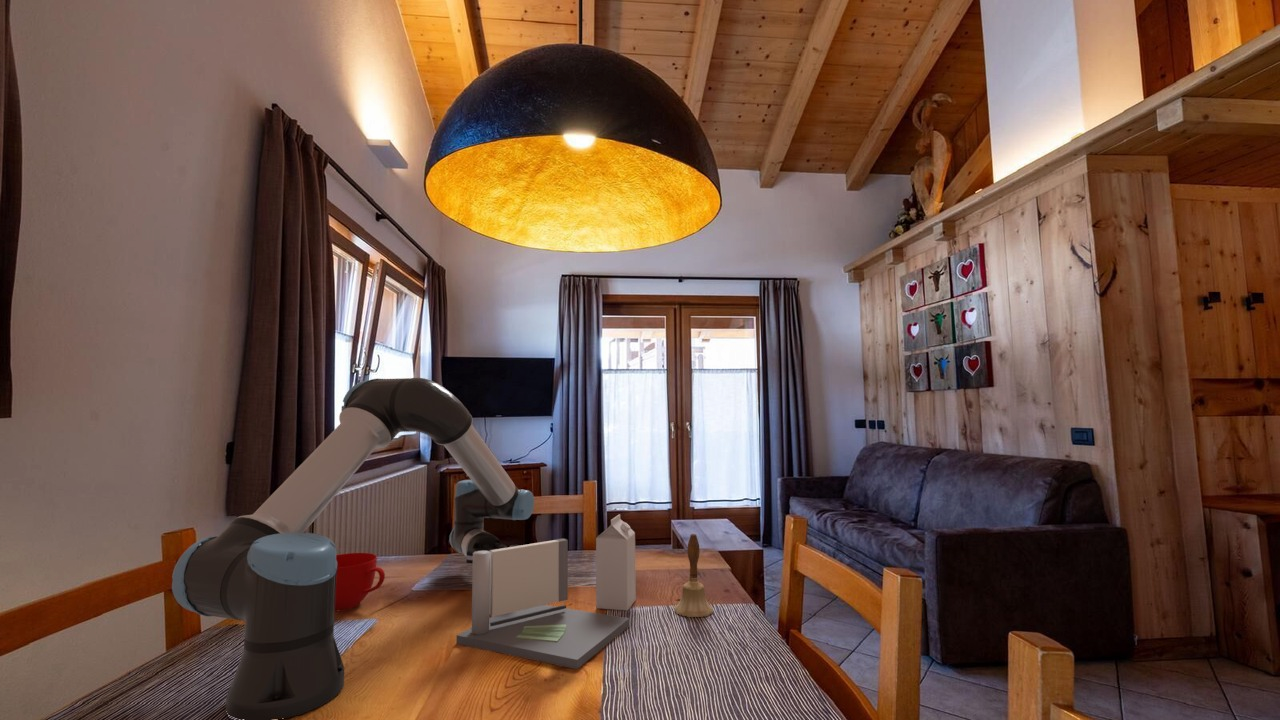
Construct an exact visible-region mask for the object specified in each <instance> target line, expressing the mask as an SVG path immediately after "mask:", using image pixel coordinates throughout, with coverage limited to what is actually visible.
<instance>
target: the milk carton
mask: <svg viewBox="0 0 1280 720" xmlns="http://www.w3.org/2000/svg"><path fill="white" fill-rule="evenodd" d="M595 566H596V568H595V569H596V570H595V576H596V577H595V587H596V590H595V593H596V595H595V597H596V598H595V600H596V603H595V606H596V609H602V610H615V611H629V610H630V609H631V607H632V606H633V604H634V603H635V602H636V600H637V599H636V598H637V597H636V532H635V531H634V530H633V529H632V528H631V526H630V525H629V524H628V523H627V522H625V521H623V520H622V519H621V514H620V513H619V514H618V515H616V516H615V517H613V518H612V519H610V525H609V526H608V527H607V528H606V529H605V530H603V532H601V533H600V534H599V535H597V537H596V538H595ZM628 609H629V610H628Z"/></svg>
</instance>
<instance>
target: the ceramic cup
mask: <svg viewBox="0 0 1280 720" xmlns="http://www.w3.org/2000/svg"><path fill="white" fill-rule="evenodd" d="M336 560H337V564H338V566H337V577H336V594H335V612H338V611H337V610H343V611H347V610H346V609H348V610H351V609H350V608H352V609H354V608H353V607H355V608H357V607H358V606H359V605H361V603H362V601H363V600H364V599H365V598H366V597H367V595H368V594H369V593H372V592H374V591H376V590H377V589H379V588H380V587H381V586H382V585H383V583H384V580H385V577H386V576H385V575H386V574H385V571H384V569H383V568H382V567H377V562H378V561H377V560H378V556H377V554H374V553H369V552H350V553H349V552H348V553H341V554H336ZM376 573H378V576H379V580H378V581H377V583H376V585H375V586H373V585H374V584H373V583H374V580H375V577H376V576H375V575H376ZM356 606H357V607H356Z"/></svg>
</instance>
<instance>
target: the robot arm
mask: <svg viewBox="0 0 1280 720" xmlns="http://www.w3.org/2000/svg"><path fill="white" fill-rule="evenodd" d="M342 402H343V405H341V412H340V413H339V416H338V417H339V419H338V420H339V423H340V424H338V426H337V427H335V429H334V430H333V431H332V432H331V433H330V434H329V435H328V436H327V437H326V438H325V439H324V440H323V441H322V442H321V443H320V444H319V445H318V446H317V448H316V449H314V451H313V452H312V453H310V455H308V457H306V458H305V460H304V461H303V462H302V463H301V464H300V465H299V466H298V467H297V468H296V469H295V470H294V471H293V472H292V473H291V474H290V475H289V476H288V477H287V478H286V479H285V480H284V481H283V483H282V484H281V485H280V486H279V487H278V488H276V490H275V491H274V492H273V493H272V494H271V495H270V496H269V497H268V498H267V499H266V500H265V501H264V502H263V503H262V504H261V506H259V507H258V508H257V509H256V511H254V512H253V513H252V514H246V515H240V516H238V517H236V518H235V519H234V520H233V521H232V522H231V523H229V525H228V526H227V527H226V528H224V530H223V531H222V532H221V533H220V534H219V535H214V536H209V537H206V538H202V539H200V540H197V541H196V542H194V543H193V544H191V545H190V546H189V547H188V548H187V549H186V550H184V552H183V553H182V554H181V556H180V557H179V559H178V560H177V562H176V564H175V566H174V568H173V571H172V576H171V577H172V583H171V590H172V594H173V596H174V599H175V600H176V602H177V603H178V604H179V605H180V607H182V608H183V609H185V610H187V611H189V612H192V613H193V612H194V613H196V614H197V615H199V616H204V617H215V618H216V617H217V618H218V617H219V618H225V619H231V620H237V621H244V637H243V638H244V641H243V653H242V656H241V658H240V661H239V663H238V665H237V669H236V670H235V673H234V676H233V679H232V682H231V685H230V687H229V689H228V691H227V694H226V698H225V712H226V711H227V713H228V714H229V715H230V716H233V717H235V718H239V719H245V720H271V719H282V718H286V719H290V718H293V717H297V716H300V715H303V714H306V713H308V712H310V711H313V710H315V709H318V708H319V707H321V706H323V705H324V704H326V703H328V702H330V701H332V700H333V699H334V698H335V697H337V696H338V695H339V694H340V693H341V691H342V690H343V689H344V686H345V671H346V670H345V666H344V664H343V660H342V657H341V653H340V650H339V648H338V646H337V645H338V644H337V642H336V640H335V637H334V631H335V630H334V628H335V627H334V626H335V612H336V611H335V594H336V577H337V566H338V564H337V560H336V555H337V548H336V544H335V543H334V541H333V540H332V539H331V538H329V537H327V536H325V535H322V534H318V533H312V532H306V531H307V530H308V529H309V527H310V526H311V525H312V523H314V522H315V520H316V519H317V518H318V517H319V515H320V514H321V513H322V512H323V511H324V510H325V509H326V508H327V506H328V505H329V504H330V503H331V501H332V500H333V499H334V498H335V497H336V495H338V493H339V492H340V491H341V490H342V489H343V488H344V486H345V485H346V484H347V483H348V482H349V480H350V479H351V478H352V477H353V476H354V474H355V473H356V472H357V471H358V470H359V469H360V468H361V466H362V465H363V464H364V463H365V461H366V460H367V459H368V458H369V457H370V456H371V454H372V453H373V452H374V451H375V450H377V449H378V450H379V449H380V450H381V449H385V448H387V446H389V445H390V444H391V442H392V441H393V440H394V439H395V437H396V436H397V435H398V434H400V433H403V432H404V433H405V432H406V433H407V432H409V433H411V432H412V433H413V432H418V433H422V434H425V435H427V436H429V438H431V440H432V441H433V442H434V443H436V445H439V446H440V445H441V446H443V447H444V448H445V449H446V451H448V453H449V454H450V455H451V456H452V458H453V459H454V460H455V462H456V463H457V464H458V465H459V466H460V468H461V469H462V470H463V471H464V473H465V474H466V475H467V476H468V479H463V480H460V481H459V480H458V482H457V483H456V484H455V492H454V493H455V494H454V524H453V528H452V530H451V532H450V534H449V536H448V537H449V544H450V545H451V547H452V548H453V550H454V551H455V552H456V553H457V554H458V553H459V554H460V555H462V556H464V557H466V564H472V565H473V553H474V552H477V551H490V550H495V549H501V548H508V546H507V545H506V544H502V543H501V541H500V539H499V538H498V537H497V536H496V535H494V534H492V533H490V532H488V531H486V530H484V526H485V525H484V523H485V519H501V520H512V521H516V520H519V521H523V520H528V519H529V518H530V517H531V515H532V514H533V511H534V508H535V497H534V494H533V492H532V491H530V490H529V489H527V490H526V489H523V488H522V489H519V488H518V487H517V485H515V483H514V482H513V480H512V478H511V477H510V476H509V474H508V473H507V472H506V470H505V468H503V466H502V464H501V463H500V462H499V460H498V459H497V458H496V456H495V455H494V453H493V452H492V451H491V449H490V448H489V447H488V445H487V443H486V442H485V441H484V440H483V438H482V436H481V435H480V434H479V433H478V431H477V429H476V428H475V427H474V425H473V421H474V420H473V416H472V414H471V413H470V411H469V410H468V408H466V406H465V405H464V404H463V402H461V401H460V400H459V399H458V397H456V396H455V395H454V394H453V393H452V392H451V391H449V390H448V389H446V388H445V387H444V386H443V385H441V384H440V383H437V382H435V381H434V380H431V379H428V378H424V377H423V378H422V377H410V378H406V377H405V378H404V377H403V378H371V379H368V380H367V379H366V380H362V381H360V382H358V383H356V384H354V385H353V386H352V387H350V389H348V391H347V392H346V394H345V395H344V397H343V400H342ZM514 546H518V544H517V543H514V544H512V545H509V547H514ZM337 694H338V695H337ZM282 720H283V719H282Z"/></svg>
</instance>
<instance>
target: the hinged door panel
mask: <svg viewBox="0 0 1280 720" xmlns="http://www.w3.org/2000/svg"><path fill="white" fill-rule="evenodd" d="M568 541H569V540H568V539H567V538H557V539H553V540H547V541H540V542H534V543H529V544H523V545H522V544H521V545H517V546H514V547H510V546H509V547H508V546H507V548H501V549H495V550H490V551H477V552H474V553H473V564H472V577H471V579H472V580H471V581H472V582H471V583H472V584H471V585H472V586H471V588H472V589H471V594H472V595H471V628H472V632H471V633H472V634H475V635H481V634H485V633H487V632H489V618H490V616H491V617H494V616H498V615H503V614H507V613H511V612H516V611H520V610H524V609H529V608H533V607H537V606H542V605H549V604H553V603H554V604H555V603H558V602H559V603H560V602H563V601H567V600H568V599H569V598H568V592H569V590H568V588H569V587H568V586H569V585H568V582H569V581H568V580H569V578H568V577H569V576H568V573H569V572H568V571H569V569H568V567H569V565H568V562H569V560H568V559H569V558H568V557H569V555H568V554H569V553H568V549H569V548H568V546H569V545H568V543H569V542H568ZM565 608H567V605H566V604H562V605H558V606H555V607H553V608H549V609H544V610H540V611H536V612H532V613H528V614H523V615H519V616H515V617H511V618H507V619H502V620H498V621H494V622H490V626H495V625H499V624H503V623H507V622H512V621H516V620H520V619H524V618H528V617H532V616H536V615H540V614H545V613H549V612H553V611H557V610H561V609H565Z"/></svg>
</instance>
